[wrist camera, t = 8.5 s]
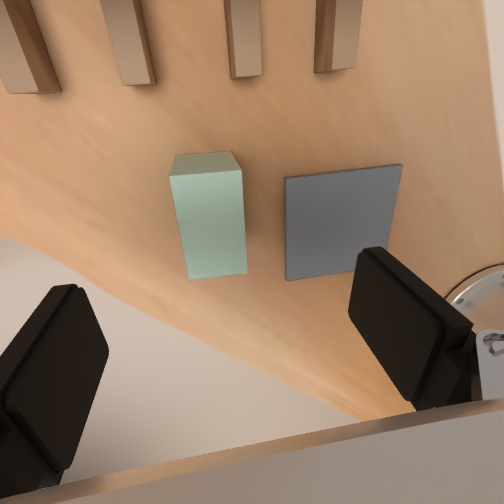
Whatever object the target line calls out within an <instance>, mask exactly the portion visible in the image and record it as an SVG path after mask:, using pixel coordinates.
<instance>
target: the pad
mask: <svg viewBox="0 0 504 504" xmlns="http://www.w3.org/2000/svg"><path fill="white" fill-rule="evenodd" d="M402 168H403V165H401V164H394V165H386V166H377V167H369V168H360V169H352V170H344V171H335V172H327V173H318V174H310V175H302V176H293V177H285V178H284V180H285V279H286V281H293V280H299V279H305V278H311V277H317V276H324V275H330V274H336V273H342V272H348V271H354V270H355V267H356V261H357V256H358V254H359V253H360V252H362V250H363V249H364V248H369V247H377V246H381V247H383V248H384V249H385V250H386V247H387V242H388V237H389V232H390V227H391V222H392V217H393V212H394V207H395V203H396V198H397V193H398V188H399V183H400V178H401V173H402Z"/></svg>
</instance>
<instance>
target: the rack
mask: <svg viewBox="0 0 504 504" xmlns="http://www.w3.org/2000/svg"><path fill="white" fill-rule="evenodd" d="M100 2H101V6H102V10H103V14H104V18H105V21H106V25H107V29H108V33H109V37H110V41H111V44H112V48H113V52H114V56H115V60H116V64H117V67H118V71H119V75H120V79H121V83H122V85H124V86H142V85H156V84H157V83H156V78H155V73H154V69H153V64H152V59H151V54H150V49H149V44H148V40H147V35H146V30H145V25H144V20H143V15H142V11H141V6H140V1H139V0H100ZM224 10H225V21H226V32H227V43H228V54H229V65H230V76H231V79H235V78H248V77H256V76H260V75H262V60H261V37H260V13H259V0H224ZM361 10H362V0H316V27H315V55H314V72H327V71H338V70H345V69H351V68H356V60H357V50H358V40H359V30H360V20H361ZM0 77H1V79H2V81H3V84H4V86H5V88H6V90H7V93H8V94H37V93H50V92H62V90H61V88H60V85H59V82H58V79H57V76H56V74H55V71H54V68H53V65H52V62H51V60H50V57H49V54H48V51H47V48H46V46H45V43H44V40H43V37H42V35H41V32H40V29H39V26H38V23H37V21H36V18H35V15H34V12H33V9H32V7H31V4H30V1H29V0H0Z"/></svg>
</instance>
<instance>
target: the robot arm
mask: <svg viewBox="0 0 504 504" xmlns="http://www.w3.org/2000/svg"><path fill="white" fill-rule="evenodd" d="M348 314H349V317H350V319H351V321H352V322H353V324H354V325H355V327H356V328H357V330H358V331H359V333H360V334H361V336H362V337H363V339H364V340H365V342H366V343H367V345H368V346H369V348H370V349H371V351H372V352H373V354H374V355H375V357H376V358H377V359H378V361H379V362H380V364H381V365H382V367H383V368H384V370H385V371H386V373H387V374H388V376H389V377H390V379H391V380H392V382H393V383H394V385H395V386H396V388H397V389H398V391H399V392H400V394H401V395H402V397H403V398H404V399H405V400H406V401H410V402H411V403H412V405H413V406H414V408H415V409H416V412H411V413H406V414H401V415H396V416H391V417H386V418H381V419H376V420H371V421H366V422H361V423H356V424H351V425H346V426H341V427H336V428H331V429H326V430H321V431H316V432H311V433H306V434H301V435H296V436H291V437H286V438H281V439H276V440H272V441H267V442H262V443H257V444H252V445H247V446H242V447H237V448H232V449H228V450H223V451H218V452H213V453H208V454H203V455H198V456H194V457H189V458H184V459H179V460H175V461H170V462H165V463H161V464H156V465H151V466H146V467H141V468H136V469H132V470H127V471H122V472H117V473H113V474H108V475H103V476H98V477H94V478H89V479H85V480H80V481H76V482H71V483H67V484H63V485H59V484H60V481H61V478H62V475H63V472H64V470H66V469H68V468H69V467H70V466H71V464H72V461H73V459H74V456H75V453H76V450H77V447H78V444H79V441H80V438H81V436H82V432H83V430H84V427H85V423H86V421H87V418H88V415H89V412H90V409H91V406H92V403H93V400H94V397H95V394H96V391H97V388H98V385H99V383H100V380H101V377H102V374H103V371H104V368H105V365H106V362H107V359H108V355H109V348H108V344H107V342H106V340H105V337H104V335H103V333H102V330H101V328H100V325H99V323H98V321H97V318H96V316H95V314H94V311H93V309H92V307H91V304H90V302H89V299H88V297H87V295H86V293H85V290H84V289H83V288H81V287H80V288H78V286H77V285H76V284H67V285H59V286H53V287H52V288H51V289H50V291H49V292H48V293H47V295H46V296H45V297H44V299H43V300H42V301H41V303H40V304H39V305H38V307H37V308H36V309H35V311H34V312H33V313H32V315H31V316H30V317H29V319H28V320H27V321H26V323H25V324H24V325H23V327H22V328H21V329H20V331H19V332H18V333H17V335H16V336H15V337H14V339H13V340H12V342H11V343H10V344H9V345H8V347H7V348H6V349H5V351H4V352H3V353H2V355H1V356H0V504H504V265H498V266H494V267H491V268H488V269H485V270H483V271H481V272H479V273H477V274H475V275H473V276H472V277H470V278H468V279H467V280H466V281H464V282H463V283H461V284H460V285H459V286H458V287H457V288H456V289H455V290H453V291H452V292H451V293H450V295H449V296H448V297H447V298H446V299H444V298H443V297H441V296H440V295H439V294H438V293H437V292H435V291H434V290H433V289H432V288H431V287H429V286H428V285H427V284H426V283H425V282H423V281H422V280H421V279H420V278H419V277H417V276H416V275H415V274H414V273H413V272H411V271H410V270H409V269H408V268H407V267H405V266H404V265H403V264H402V263H401V262H400V261H398V260H397V259H396V258H395V257H394V256H392V255H391V254H390V253H389V252H388V251H386V250H385V249H384V248H383V247H381V246H377V247H369V248H364V249H363V250H362V252H360V253H359V254H358V256H357V261H356V267H355V273H354V279H353V285H352V290H351V296H350V302H349V308H348ZM434 407H435V408H434ZM57 485H58V486H57ZM52 486H54V487H52ZM47 487H49V488H47ZM42 488H45V489H42ZM37 489H41V490H37Z"/></svg>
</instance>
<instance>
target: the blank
mask: <svg viewBox="0 0 504 504" xmlns="http://www.w3.org/2000/svg"><path fill="white" fill-rule="evenodd" d="M169 179H170V184H171V189H172V195H173V200H174V205H175V210H176V216H177V221H178V226H179V232H180V237H181V242H182V247H183V253H184V258H185V263H186V268H187V274H188V279H189V280H197V279H204V278H212V277H219V276H227V275H234V274H242V273H248V270H247V253H246V236H245V219H244V202H243V185H242V170H241V168H240V166H239V165H238V163H237V161H236V160H235V158H234V156H233V154H232V153H231V151H222V152H209V153H196V154H183V155H175V159H174V162H173V165H172V168H171V171H170V175H169Z"/></svg>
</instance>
